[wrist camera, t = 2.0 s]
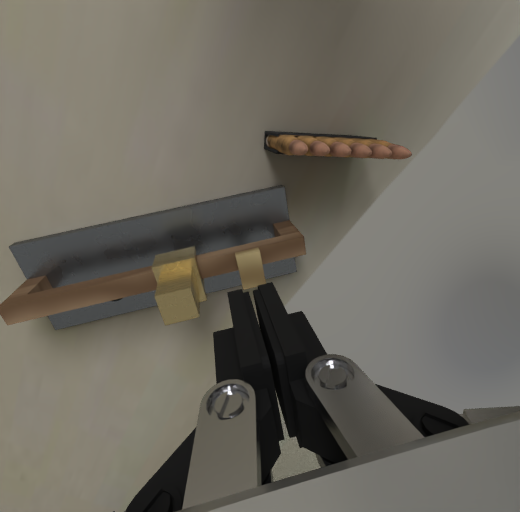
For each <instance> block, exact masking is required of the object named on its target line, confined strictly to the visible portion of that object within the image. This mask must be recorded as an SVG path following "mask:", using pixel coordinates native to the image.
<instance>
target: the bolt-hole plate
mask: <svg viewBox="0 0 520 512" xmlns="http://www.w3.org/2000/svg"><path fill="white" fill-rule="evenodd" d="M288 220H289V215H288V208H287V201H286V194H285V187H284V186H283V185H279V186H275V187H270V188H266V189H261V190H256V191H252V192H247V193H242V194H238V195H233V196H229V197H224V198H219V199H215V200H210V201H206V202H201V203H196V204H192V205H187V206H182V207H178V208H173V209H169V210H164V211H159V212H155V213H150V214H145V215H141V216H136V217H132V218H127V219H122V220H118V221H113V222H108V223H104V224H99V225H95V226H90V227H85V228H81V229H76V230H71V231H67V232H62V233H58V234H53V235H48V236H44V237H39V238H34V239H30V240H25V241H21V242H16V243H14V244H12V245H11V246H9V248H10V250H11V252H12V253H13V255H14V257H15V259H16V261H17V262H18V264H19V266H20V268H21V269H22V271H23V273H24V275H25V277H26V278H27V280H28V279H32V278H37V277H41V276H45V275H46V277H47V278H48V280H49V282H50V284H51V286H52V288H57V287H62V286H66V285H70V284H75V283H79V282H83V281H88V280H92V279H96V278H101V277H105V276H109V275H114V274H118V273H122V272H127V271H131V270H135V269H140V268H144V267H148V266H152V265H153V262H154V259H155V256H156V255H158V254H162V253H167V252H171V251H175V250H180V249H184V248H188V247H193V246H195V249H196V255H200V254H205V253H209V252H213V251H218V250H222V249H226V248H231V247H235V246H239V245H244V244H248V243H252V242H257V241H261V240H265V239H270V238H274V237H275V233H274V227H273V224H275V223H279V222H283V221H288ZM263 270H264V276H265V279H268V278H272V277H277V276H281V275H285V274H289V273H293V272H297V271H296V264H295V257H292V258H288V259H284V260H280V261H276V262H271V263H267V264H263ZM204 284H205V292H206V293H210V292H215V291H219V290H223V289H227V288H231V287H235V286H239V285H242V282H241V278H240V273H239V270H238V271H234V272H229V273H225V274H221V275H217V276H212V277H208V278H204ZM155 292H156V290H154V291H149V292H145V293H141V294H137V295H133V296H128V297H124V298H120V299H116V300H111V301H107V302H103V303H99V304H95V305H90V306H86V307H82V308H78V309H74V310H69V311H65V312H61V313H57V314H53V315H48V318H49V319H50V321H51V323H52V325H53V326H54V328H55V330H58V329H62V328H66V327H70V326H74V325H78V324H82V323H86V322H91V321H95V320H99V319H103V318H107V317H111V316H115V315H120V314H124V313H128V312H132V311H136V310H140V309H144V308H148V307H153V306H157V302H156V299H155V297H154V296H155Z"/></svg>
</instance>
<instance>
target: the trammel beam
mask: <svg viewBox="0 0 520 512" xmlns="http://www.w3.org/2000/svg"><path fill="white" fill-rule="evenodd" d="M273 227H274V233H275V237H274V238H270V239H265V240H261V241H257V242H252V243H248V244H244V245H239V246H235V247H231V248H226V249H222V250H218V251H213V252H209V253H205V254H200V255H196V261H197V264H198V268H199V271H200V274H201V278H202V279H204V278H208V277H212V276H217V275H221V274H225V273H229V272H234V271H238V270H239V273H240V278H241V282H242V286H243V290H245V289H249V288H253V287H257V286H258V285H262V284H266V281H265V276H264V270H263V264H267V263H271V262H276V261H280V260H284V259H288V258H292V257H297V256H301V255H305V254H306V250H305V242H304V236H303V235H302V234H301V233H300V232H299V231H298V229H297V228H296V227H295V226H294V225H293V224H292V223H291V222H290V220H288V221H283V222H279V223H275V224H273ZM156 288H157V281H156V278H155V276H154V273H153V270H152V266H148V267H144V268H140V269H135V270H131V271H127V272H122V273H118V274H114V275H109V276H105V277H101V278H96V279H92V280H88V281H83V282H79V283H75V284H70V285H66V286H62V287H57V288H52V286H51V284H50V282H49V280H48V278H47V277H46V275H45V276H41V277H37V278H32V279H28V280H26V281H25V282H24V283H23V284H22V285H21V286H20V287H19V288H18V289H17V290H15V291H14V292H13V293H12V294H11V295H10V296H9V297H8V298H7V299H6V300H5V301H4V302H3V303H1V304H0V315H1V316H2V318H3V319H4V321H5V322H6V324H7V325H11V324H15V323H19V322H23V321H27V320H32V319H36V318H40V317H44V316H48V315H53V314H57V313H61V312H65V311H69V310H74V309H78V308H82V307H86V306H90V305H95V304H99V303H103V302H107V301H111V300H116V299H120V298H124V297H128V296H133V295H137V294H141V293H145V292H149V291H154V290H156Z"/></svg>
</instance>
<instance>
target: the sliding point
mask: <svg viewBox="0 0 520 512" xmlns="http://www.w3.org/2000/svg"><path fill="white" fill-rule="evenodd" d="M152 270H153V273H154V276H155V278H156V281H157V288H156V292H155V296H154V297H155V299H156V302H157V305H158V308H159V310H160V313H161V316H162V318H163V321H164V324H165V325H169V324H173V323H177V322H181V321H185V320H189V319H194V318H198V317H199V313H200V302H202V301H206V300H207V295H206V292H205V284H204V279H202V278H201V274H200V271H199V268H198V264H197V261H196V249H195V246H193V247H188V248H184V249H180V250H175V251H171V252H167V253H162V254H158V255H156V256H155V259H154V262H153V265H152Z"/></svg>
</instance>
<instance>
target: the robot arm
mask: <svg viewBox="0 0 520 512" xmlns="http://www.w3.org/2000/svg"><path fill="white" fill-rule="evenodd" d="M227 293H228V299H229V304H230V310H231V316H232V321H233V328H229V329H225V330H221V331H217V332H214V333H213V338H214V352H215V366H216V381H217V384H216V385H214V386H213V387H212V388H211V389H209V390H208V391H207V392H206V394H205V395H204V397H203V399H202V401H201V404H200V410H199V415H198V421H197V427H196V428H195V429H194V430H193V431H192V433H191V434H190V435H189V436H188V437H187V438H186V439H185V440H184V442H183V443H182V444H181V445H180V446H179V447H178V448H177V450H176V451H175V452H174V453H173V454H172V455H171V456H170V457H169V459H168V460H167V461H166V462H165V463H164V464H163V465H162V466H161V468H160V469H159V470H158V471H157V472H156V473H155V474H154V475H153V477H152V478H151V479H150V480H149V481H148V482H147V483H146V484H145V486H144V487H143V488H142V489H141V490H140V491H139V492H138V494H137V495H136V496H135V497H134V499H133V500H132V501H131V503H130V504H129V506H128V507H127V509H126V511H124V512H520V406H515V407H497V408H479V409H464V411H463V414H457V413H456V412H454V411H452V410H450V409H448V408H445V407H443V406H440V405H437V404H434V403H431V402H428V401H425V400H421V399H419V398H416V397H413V396H410V395H407V394H404V393H401V392H398V391H395V390H392V389H389V388H386V387H382V386H380V385H377V384H374V383H373V382H372V381H371V380H370V378H369V377H368V376H367V375H366V374H365V373H364V372H363V371H362V370H361V369H360V368H359V367H358V366H357V365H356V364H355V363H354V362H353V361H352V360H351V359H349V358H346V357H344V356H341V355H336V354H328V355H327V353H326V352H325V350H324V348H323V347H322V345H321V343H320V341H319V339H318V338H317V336H316V334H315V332H314V331H313V329H312V327H311V325H310V324H309V322H308V320H307V318H306V317H305V315H304V314H303V312H302V311H300V312H296V313H291V314H287V312H286V310H285V307H284V305H283V303H282V301H281V299H280V297H279V295H278V293H277V291H276V289H275V287H274V285H273V283H272V282H271V283H267V284H262V285H258V290H253V294H254V300H255V305H256V310H257V315H258V320H259V324H258V321H257V318H256V314H255V311H254V308H253V305H252V301H251V298H250V295H249V292H245V293H243V291H242V289H240V290H236V291H232V292H227ZM259 326H260V327H259ZM275 390H276V392H275ZM276 393H277V397H278V400H279V403H280V407H281V410H282V414H283V417H284V420H285V424H286V427H287V431H288V434H289V437H290V438H291V437H295V436H296V437H297V440H298V444H299V447H300V448H302V447H304V448H306V449H308V450H310V451H312V452H314V453H316V457H317V460H318V463H319V465H320V467H321V468H319V469H316V470H312V471H309V472H305V473H302V474H299V475H295V476H292V477H289V478H285V479H282V480H279V481H275V482H274V481H273V474H272V467H273V466H274V464H275V462H276V460H277V459H278V457H279V455H280V454H281V451H280V446H279V441H281V440H284V435H283V429H282V424H281V418H280V413H279V408H278V402H277V397H276ZM113 512H115V511H113Z"/></svg>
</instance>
